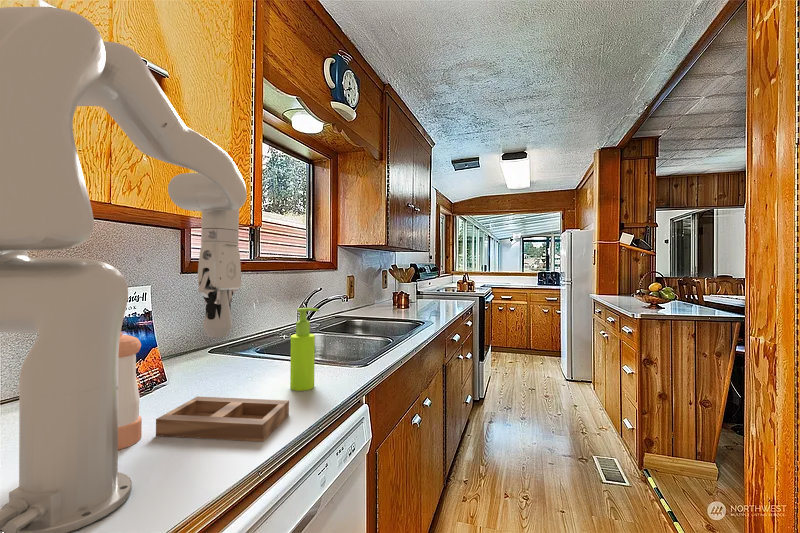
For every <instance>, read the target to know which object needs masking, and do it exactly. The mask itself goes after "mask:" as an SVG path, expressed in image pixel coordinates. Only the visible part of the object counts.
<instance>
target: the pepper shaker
mask: <svg viewBox="0 0 800 533" xmlns="http://www.w3.org/2000/svg"><path fill="white" fill-rule="evenodd" d="M141 347H142V343H141V341H140V339H139V338H138V337H136V336H132V335H129V334H124V333H123V332H122V331H121V333H120V340H119V355H118V451H119V450H122V449H125V448H128V447H130V446H133V445H134V444H136V443H138V442H139V441H140V440H141V439H142V434H143V432H142V430H143V429H142V426H143V425H142V420H143V419H142V416H141V415H140V400H141V399H140V392H139V387H138V381H137V373H136V372H137V357H136V356H137V354H138V353H140V350H141Z"/></svg>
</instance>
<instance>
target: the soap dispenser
mask: <svg viewBox="0 0 800 533" xmlns="http://www.w3.org/2000/svg"><path fill="white" fill-rule="evenodd" d="M296 311H297V312H299V319H298V320H297V321H296V322H295V334H292V335H290V370H289V371H290V381H289V382H290V383H289V384H290V385H289V386H290V390H291V391H297V392H298V391H299V392H303V391H310V390H311V389H314V388H315V361H316V360H315V359H316V357H315V353H316V351H315V349H316V348H315V342H316V340H315V338H316V335H315V334H314V333H311V331H310V330H311V326H310V325H311V324H310V323H311V322H310V320H308V319H307V312H310V311H311V312H319V311H320V309H319V308H315V307H301V308H297V309H296Z"/></svg>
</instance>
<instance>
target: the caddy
mask: <svg viewBox="0 0 800 533" xmlns="http://www.w3.org/2000/svg"><path fill="white" fill-rule="evenodd" d="M289 416H290V400H288V399H287V400H283V399H282V400H281V399H263V398H243V397H242V398H241V397H240V398H237V397H236V398H235V397H219V396H217V397H216V396H214V397H213V396H196V397H194V398H192V399H190V400H188V401H187V402H185V403H183V404H181V405H179V406H177V407H176V408H173V409H172V410H170V411H169V412H166V413H165V414H162V415H161V416H159V417H158V418H156V419H155V436H156V437H171V438H187V439H191V438H192V439H207V440H224V441H225V440H226V441H246V442H259V443H260V442H261V443H263V442H264V441H265V440H266V439H267V438H268V437H269V436H270V435H271V434H272V433H273V432H274V431H275V430H276V429H277V428H278V427H279V426H280V424H282V423H283V422H284V421H285V420H286V419H287V418H288V417H289Z"/></svg>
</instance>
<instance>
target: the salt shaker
mask: <svg viewBox="0 0 800 533" xmlns="http://www.w3.org/2000/svg"><path fill="white" fill-rule="evenodd" d="M210 288H212V289H216V287H213V286H210ZM213 294H214V296H215V293H214V292H213ZM219 304H221V314H220V319H219V316H218V312H217V308H216V315H215V318H214V319H212V320H210V319H208V318H207V315H206V314H205V315H204V318H203V324H202V328H203V330H204V332H205V333H206V336H207V337H208V338H223V337H228V336H229V333H230V332H231V329H232V327H233V321H232V315H231V310H230V307H229V301H228V294H227V290H220V302H219Z"/></svg>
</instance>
